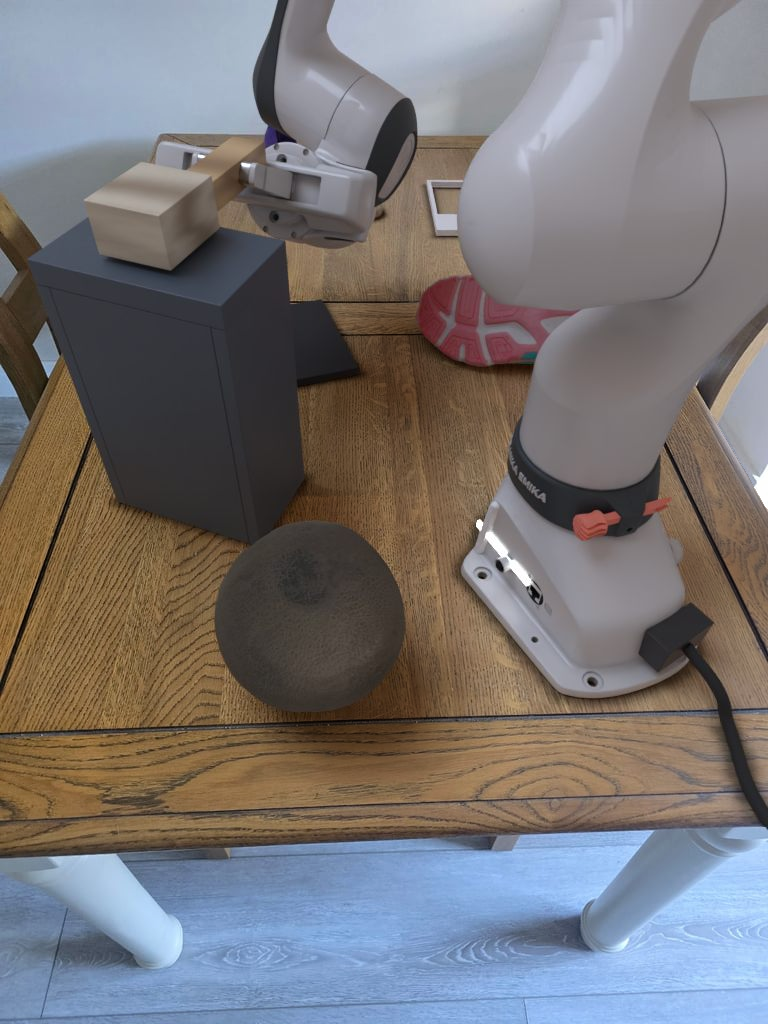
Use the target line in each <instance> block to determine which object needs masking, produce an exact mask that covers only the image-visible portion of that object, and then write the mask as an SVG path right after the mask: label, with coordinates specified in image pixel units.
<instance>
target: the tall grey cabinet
mask: <svg viewBox="0 0 768 1024" xmlns="http://www.w3.org/2000/svg"><path fill="white" fill-rule="evenodd" d="M26 261H27V263H28V267H29V269H30V273H31V274H32V277H33V280H34V283H35V285H36V288H37V290H38V293H39V296H40V299H41V301H42V304H43V306H44V309H45V312H46V314H47V317H48V320H49V323H50V325H51V328H52V330H53V333H54V335H55V339H56V341H57V344H58V347H59V349H60V352H61V356H62V358H63V360H64V363H65V365H66V368H67V371H68V374H69V376H70V379H71V381H72V385H73V387H74V390H75V392H76V395H77V397H78V401H79V403H80V405H81V408H82V411H83V414H84V416H85V419H86V421H87V422H86V423H87V424H88V427H89V430H90V432H91V435H92V438H93V440H94V443H95V446H96V448H97V450H98V454H99V456H100V459H101V461H102V465H103V468H104V470H105V473H106V475H107V478H108V481H109V484H110V486H111V488H112V491H113V494H114V496H115V499H116V502H117V503H120V504H123V505H126V506H129V507H133V508H135V509H139V510H142V511H145V512H148V513H151V514H155V515H157V516H160V517H164V518H166V519H170V520H174V521H177V522H180V523H182V524H185V525H189V526H192V527H195V528H198V529H202V530H205V531H207V532H211V533H214V534H217V535H220V536H223V537H227V538H230V539H232V540H236V541H239V542H242V543H246V544H248V545H249V544H250V546H252V545H253V544H255V543H256V542H257V541H258V540H259V539H261V538H262V537H264V536H266V535H267V534H269V533H270V532H271V531H273V530H274V527H275V526H276V524H277V523H278V522H279V520H280V518H281V516H282V515H283V513H284V512H285V510H286V509H287V507H288V505H289V504H290V502H291V500H292V499H293V497H294V496H295V495H296V493H297V491H298V490H299V488H300V487H301V486H302V484H303V482H304V480H305V478H306V477H305V466H304V454H303V441H302V430H301V416H300V405H299V393H298V392H299V391H298V386H297V379H296V366H295V354H294V341H293V329H292V317H291V304H292V303H291V293H290V292H291V291H290V282H289V281H290V280H289V269H288V268H289V267H288V255H287V244H286V240H281V239H277V238H274V237H272V236H267V235H261V234H258V233H257V234H256V233H253V232H252V233H251V232H246V231H242V230H237V229H232V228H227V227H223V226H220V228H219V229H218V230H217V231H216V232H215V233H213V234H212V235H211V236H210V237H209V238H208V239H207V240H205V241H204V242H203V243H202V244H201V245H200V246H199V247H197V248H196V249H195V250H194V251H193V252H192V253H191V254H189V255H188V256H187V257H186V258H185V259H184V260H183V261H181V262H180V263H179V264H178V265H177V266H176V267H175V268H173V269H172V270H171V271H170V270H165V269H161V268H157V267H152V266H148V265H144V264H139V263H135V262H130V261H126V260H122V259H117V258H113V257H109V256H104V255H100V254H99V251H98V248H97V245H96V241H95V238H94V234H93V231H92V227H91V224H90V221H89V217H88V216H87V217H85V218H84V219H83V220H81V221H80V222H79V223H77V224H75V225H74V226H73V227H71V228H70V229H68V230H67V231H65V232H64V233H63V234H61V235H60V236H58V237H57V238H56V239H54V240H52V241H51V242H49V243H48V244H47V245H45V246H43V248H41V249H39V250H37V252H35V253H34V254H32V255H30V257H28V258H27V259H26Z"/></svg>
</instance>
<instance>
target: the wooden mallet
mask: <svg viewBox="0 0 768 1024" xmlns="http://www.w3.org/2000/svg"><path fill="white" fill-rule="evenodd" d="M242 161H247V162H253V163H259V164H261V165H264V166H266V167H267V162H266V152H265V142H264V140H260V139H254V138H248V137H242V136H237V135H233V136H231V137H229V138H228V139H227V140H225V141H224V142H223V143H221V144H220V145H219V146H217V147H216V148H215V149H213V151H212V152H211V153H209V154H208V155H206V156H205V157H204V158H202V159H201V160H200V161H198V162H197V163H195V164H194V165H193V166H191V167H190V168H188V169H187V170H181V169H176V168H171V167H166V166H160V165H155V163H151V162H150V163H149V162H145V161H140V162H138V163H137V164H135V165H134V166H132V167H131V168H130V169H128V170H126V171H125V172H124V173H121V175H119V176H117V177H116V178H114V179H113V180H112V181H109V183H107V184H106V185H104V186H102V187H100V188H99V189H98V190H96V191H95V192H93V193H92V194H89V196H87V197H86V198H84V199H83V204H84V207H85V210H86V214H87V217H89V221H90V224H91V227H92V231H93V234H94V238H95V241H96V245H97V248H98V251H99V254H100V255H104V256H109V257H113V258H117V259H122V260H126V261H130V262H135V263H139V264H144V265H148V266H152V267H157V268H161V269H165V270H170V271H171V270H172V269H173V268H175V267H176V266H177V265H178V264H179V263H180V262H181V261H183V260H184V259H185V258H186V257H187V256H188V255H189V254H191V253H192V252H193V251H194V250H195V249H196V248H197V247H199V246H200V245H201V244H202V243H203V242H204V241H205V240H207V239H208V238H209V237H210V236H211V235H212V234H213V233H215V232H216V231H217V230H218V229H219V228H220V227H221V226H220V221H219V214H218V212H219V211H220V210H222V209H223V208H224V207H225V206H226V205H227V204H229V203H230V202H232V201H231V200H232V199H233V198H235V197H236V196H237V195H238V194H239V193H240V192H242V191H243V190H244V189H245V188H246V187H247V186H245V185H242V184H240V183H239V179H238V178H239V173H240V163H241V162H242Z"/></svg>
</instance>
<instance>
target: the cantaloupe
mask: <svg viewBox="0 0 768 1024" xmlns="http://www.w3.org/2000/svg"><path fill="white" fill-rule="evenodd" d="M213 617H214V618H213V619H214V620H213V624H214V630H215V631H214V633H215V636H216V641H217V647H218V649H219V652H220V655H221V657H222V660H223V662H224V664H225V666H226V667H227V669H228V671H229V672H230V674H231V676H232V677H233V678H234V679H235V682H237V683H238V684H239V685H240V687H242V688H243V689H245V691H247V692H248V693H249V694H250V695H252V696H253V697H255V698H256V699H257V700H258V701H260V702H262V703H263V704H265V705H266V706H269V707H272V708H273V709H276V710H279V711H284V712H290V713H291V712H292V713H304V712H311V713H320V712H330V711H335V710H341V709H342V708H345V707H348V706H351V705H353V704H356V703H357V702H359V701H361V700H362V699H364V698H365V697H366V696H367V695H368V694H370V693H371V692H372V691H373V690H374V689H375V688H377V686H378V685H380V684H381V682H382V681H383V680H384V679H385V678H386V676H387V675H388V674H389V673H390V671H391V670H392V669H393V667H394V666H395V664H396V662H397V660H398V659H399V656H400V654H401V651H402V647H403V644H404V641H405V637H406V631H407V630H406V625H407V624H406V613H405V605H404V600H403V596H402V593H401V590H400V586H399V585H398V581H397V580H396V578H395V576H394V574H393V573H392V570H391V568H390V567H389V565H388V564H387V563H386V561H385V560H384V559H383V557H382V556H381V554H380V553H379V552H378V551H377V550H376V548H375V547H374V546H373V545H372V544H370V543H369V541H367V540H366V538H364V537H363V536H362V535H361V534H360V533H358V532H357V531H355V530H353V528H352V529H351V528H350V527H348V526H347V525H344V524H340V523H338V522H332V521H327V520H302V521H301V520H299V521H294V522H290V523H286V524H283V525H281V526H279V527H276V528H273V529H272V531H271V532H270V533H269V534H267V535H266V536H264V537H262V538H261V539H259V540H258V541H257V542H256V543H255V544H253V545H250V546H249V547H247V548H245V549H243V550H242V551H241V552H240V553H239V554H238V555H237V557H236V558H235V560H234V561H233V563H232V564H231V566H230V568H229V569H228V570H227V572H226V574H225V576H224V577H223V579H222V581H221V583H220V585H219V587H218V593H217V597H216V601H215V607H214V616H213Z"/></svg>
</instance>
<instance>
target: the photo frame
mask: <svg viewBox="0 0 768 1024" xmlns="http://www.w3.org/2000/svg"><path fill="white" fill-rule="evenodd" d="M463 180H464V179H426V185H425V186H426V190H427V195H428V200H429V206H430V212H431V215H432V221H433V226H434V231H435V236H436V237H458V232H457V213H438V209H437V203H436V200H435V194H434V190H433V188H461V187H462V184H463Z"/></svg>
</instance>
